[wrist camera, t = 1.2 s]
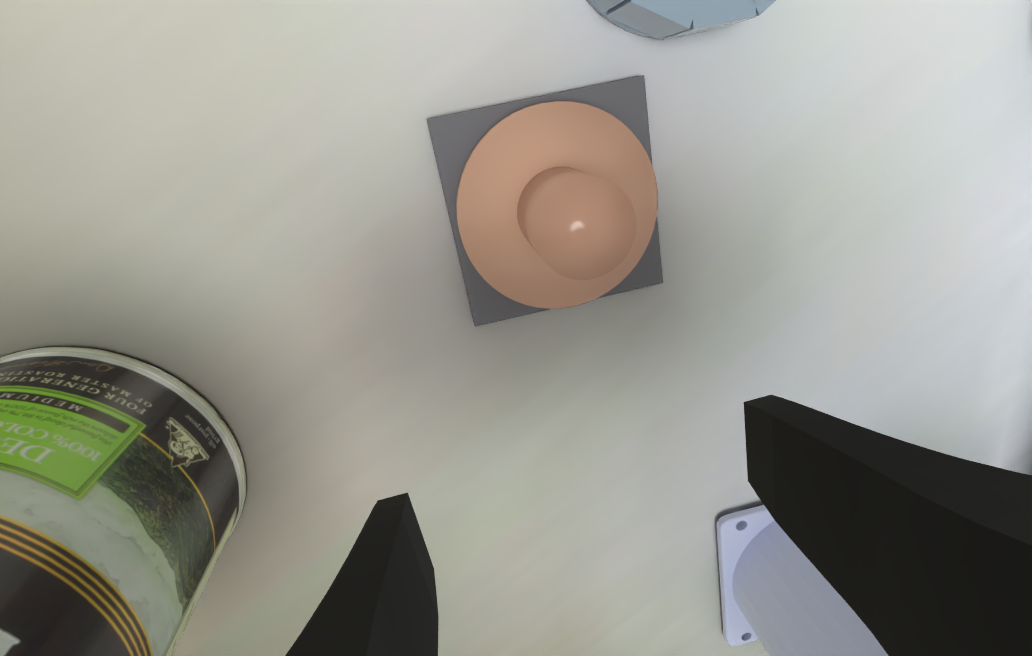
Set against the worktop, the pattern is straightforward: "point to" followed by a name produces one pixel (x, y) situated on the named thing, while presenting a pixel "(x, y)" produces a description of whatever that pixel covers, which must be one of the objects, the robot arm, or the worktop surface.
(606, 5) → the bowl
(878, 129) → the worktop surface
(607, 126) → the lid
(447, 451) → the worktop surface
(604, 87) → the coaster
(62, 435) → the coffee can
